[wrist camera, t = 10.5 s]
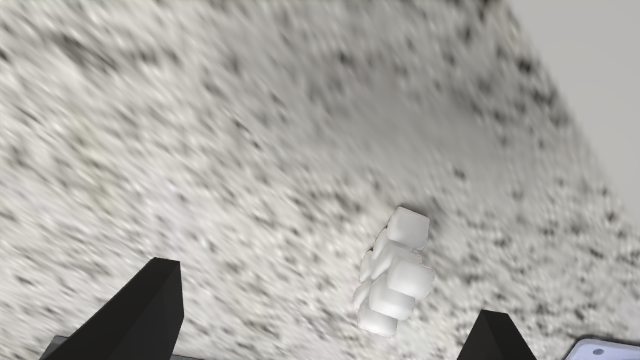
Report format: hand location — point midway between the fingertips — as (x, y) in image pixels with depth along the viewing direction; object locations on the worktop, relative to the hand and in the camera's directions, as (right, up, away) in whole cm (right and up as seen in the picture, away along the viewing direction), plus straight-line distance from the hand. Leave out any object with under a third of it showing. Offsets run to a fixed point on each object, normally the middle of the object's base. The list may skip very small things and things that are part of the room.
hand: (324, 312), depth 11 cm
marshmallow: (+3, 0, +11) cm, 12 cm away
